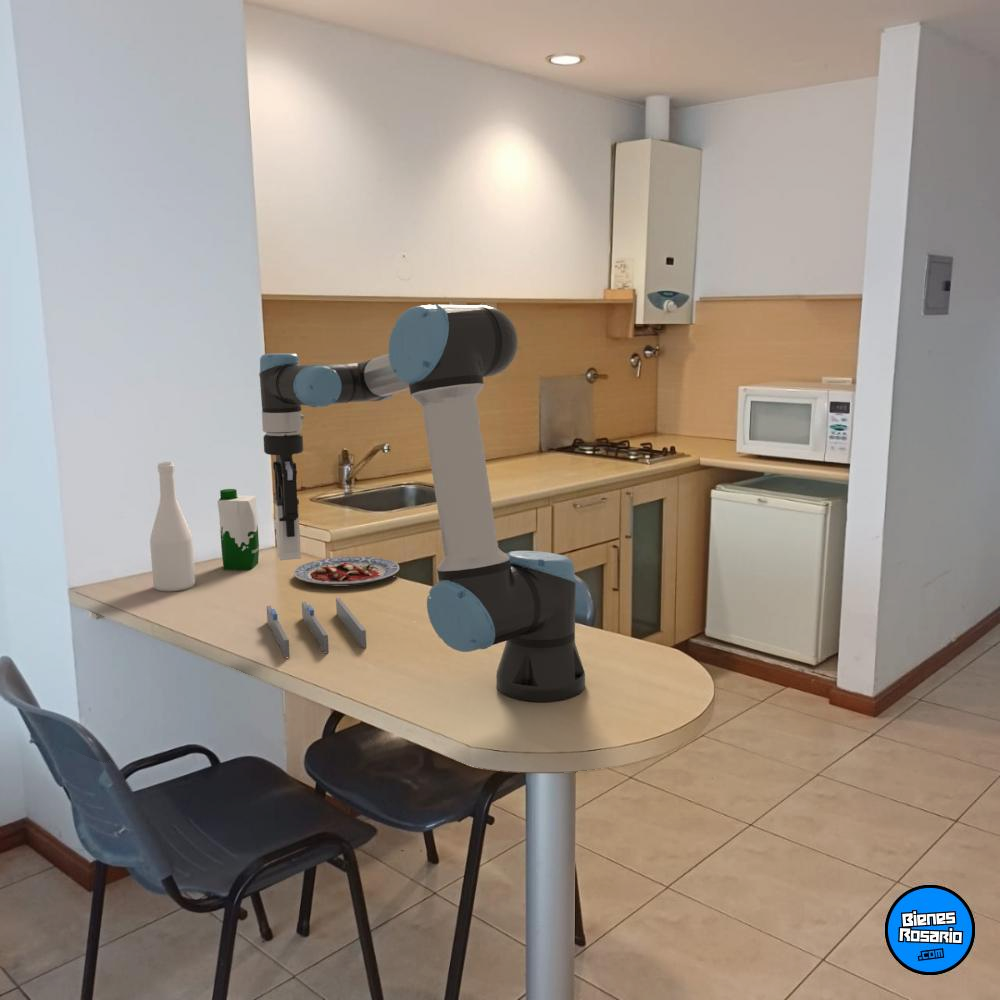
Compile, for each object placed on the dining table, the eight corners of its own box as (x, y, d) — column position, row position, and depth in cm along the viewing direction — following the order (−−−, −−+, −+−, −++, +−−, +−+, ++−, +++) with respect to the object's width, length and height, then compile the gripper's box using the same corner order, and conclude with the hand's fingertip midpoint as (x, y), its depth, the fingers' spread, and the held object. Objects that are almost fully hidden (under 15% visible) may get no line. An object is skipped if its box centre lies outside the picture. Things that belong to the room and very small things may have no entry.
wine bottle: (151, 585, 232) (141, 461, 227) (192, 579, 236) (183, 458, 231) (156, 594, 224) (146, 466, 218) (199, 589, 228) (190, 463, 223)
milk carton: (228, 562, 253) (224, 487, 250) (263, 562, 253) (259, 487, 250) (218, 570, 245) (213, 493, 241) (254, 570, 245) (249, 493, 241)
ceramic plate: (317, 598, 220) (317, 585, 220) (278, 574, 242) (277, 562, 241) (417, 581, 234) (417, 569, 233) (372, 560, 255) (372, 549, 255)
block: (301, 558, 192) (298, 499, 190) (280, 560, 191) (277, 500, 189) (297, 554, 196) (295, 495, 194) (277, 555, 195) (273, 497, 192)
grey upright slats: (366, 647, 185) (365, 625, 185) (285, 658, 180) (284, 635, 179) (340, 613, 208) (339, 593, 207) (267, 622, 202) (266, 601, 201)
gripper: (309, 436, 182) (315, 557, 187) (295, 427, 198) (300, 539, 202) (269, 438, 180) (276, 560, 184) (257, 429, 195) (263, 542, 200)
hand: (288, 549), depth 193 cm, fingers closed on block, 4 cm apart
